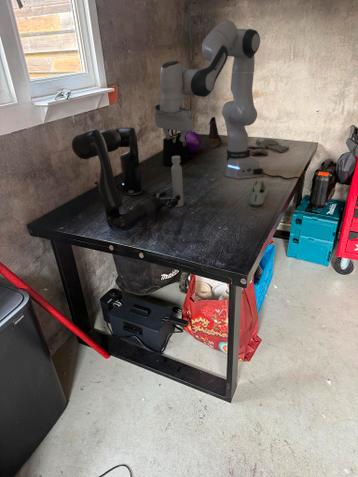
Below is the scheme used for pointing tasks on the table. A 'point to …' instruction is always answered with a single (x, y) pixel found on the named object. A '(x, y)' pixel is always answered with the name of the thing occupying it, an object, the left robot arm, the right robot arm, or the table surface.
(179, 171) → the bottle
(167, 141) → the handbag
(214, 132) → the boot
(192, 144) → the decorative orb
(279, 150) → the pair of gloves
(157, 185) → the table surface
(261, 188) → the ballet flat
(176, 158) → the cap
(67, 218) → the table surface
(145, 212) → the left robot arm
